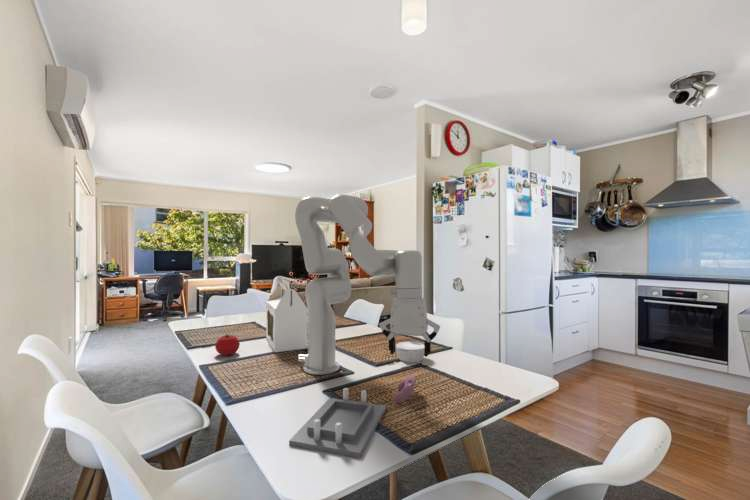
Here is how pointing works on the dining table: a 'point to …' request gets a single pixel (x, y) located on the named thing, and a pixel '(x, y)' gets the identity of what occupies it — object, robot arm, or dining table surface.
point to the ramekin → (410, 351)
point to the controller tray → (340, 426)
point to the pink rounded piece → (405, 389)
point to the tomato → (227, 345)
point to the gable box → (286, 319)
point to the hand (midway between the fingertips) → (409, 354)
